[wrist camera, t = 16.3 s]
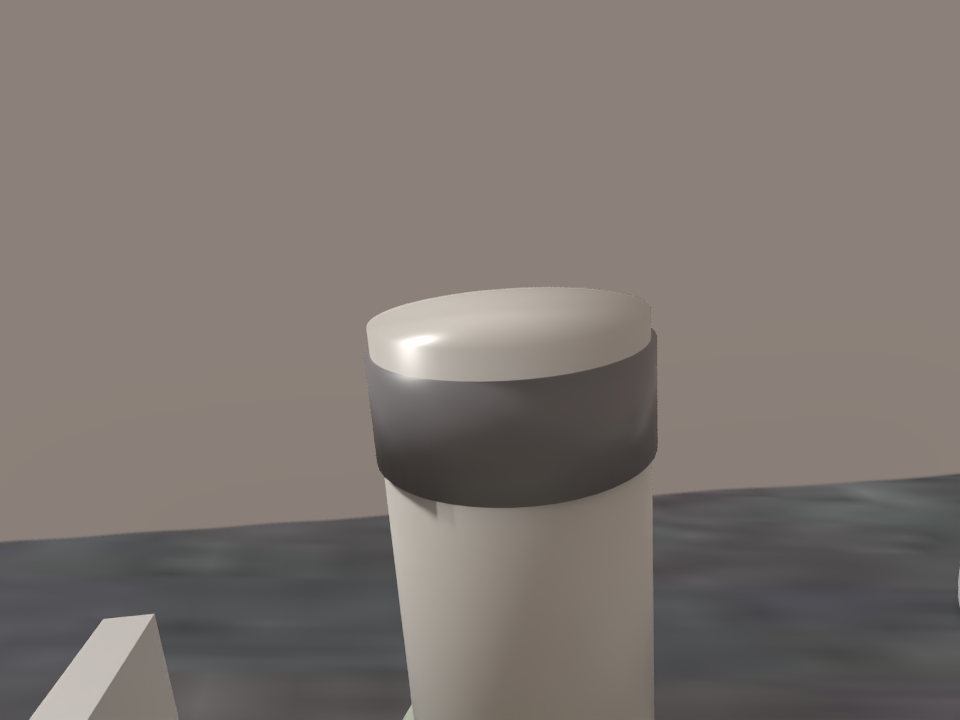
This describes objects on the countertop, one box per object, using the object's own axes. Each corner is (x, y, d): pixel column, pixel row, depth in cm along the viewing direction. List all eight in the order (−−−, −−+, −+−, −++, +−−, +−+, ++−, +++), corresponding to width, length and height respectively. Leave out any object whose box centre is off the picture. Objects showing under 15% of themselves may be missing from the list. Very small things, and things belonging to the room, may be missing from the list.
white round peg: (401, 1022, 15) (301, 348, 11) (478, 811, 20) (428, 288, 16) (649, 1111, 13) (639, 353, 9) (668, 857, 18) (667, 283, 14)
